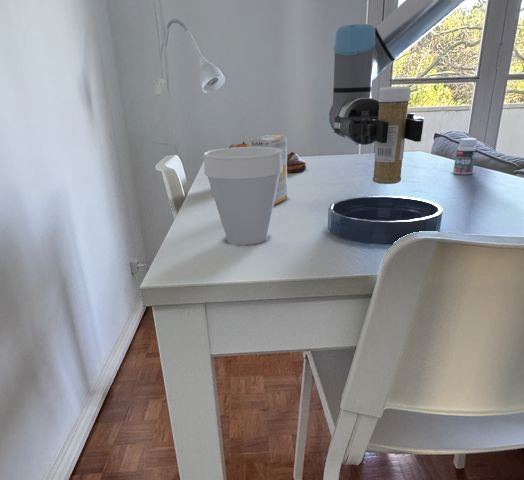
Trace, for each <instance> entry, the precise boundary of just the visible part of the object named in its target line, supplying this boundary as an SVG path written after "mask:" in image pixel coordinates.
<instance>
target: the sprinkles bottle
mask: <svg viewBox="0 0 524 480" xmlns="http://www.w3.org/2000/svg"><path fill="white" fill-rule="evenodd" d="M411 92H412V88H411V87H410V86H385V87H381V88H379V89H378V100H377V101H379V114H378V120H381V121H385V122H389V124H388V135H387V143H380V142H377V141H375V146H374V148H375V149H374V164H373V165H374V167H373V176H372V181H373V183H376V184H380V185H392V184H393V185H394V184H395V185H396V184H399V183H400V182H401V181H402V167H403V159H404V152H405V142H406V141H405V140H406V139H405V128H406V119H407V114H408V109H409V104H410V101H411Z"/></svg>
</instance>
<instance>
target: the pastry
mask: <svg viewBox="0 0 524 480" xmlns="http://www.w3.org/2000/svg"><path fill="white" fill-rule="evenodd" d="M306 169H307V162H306V161H305V160H304V159H301V158H300V156H299V155H298V154H297V153H296V152H295V151H291V152H290V153H287V173H300V172H304V171H306Z"/></svg>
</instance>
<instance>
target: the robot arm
mask: <svg viewBox="0 0 524 480" xmlns="http://www.w3.org/2000/svg"><path fill="white" fill-rule="evenodd" d="M467 1H468V0H405V1H403V2H402V3H401V4H400V5H399V6H397V8H396V9H394V10H393V11H392V12H391V13H390V14H389V15H388V16H386V17H385V18H384V19H383V20H382V21H381V22H380V23H379V24H378V25H376V26H374V25H373V24H370V23H357V24H355V23H354V24H345V25H340V26H339V27H337V29H336V31H335V40H334V41H335V42H334V45H333V50H334V59H333V60H334V61H333V63H334V64H333V89H332V90H333V91H332V105H331V106H330V109H329V113H328V122H329V125H330V127H331V128H332V130H333V133H334V134H336V135H338V136H339V137H342V138H346V139H347V140H351V141H352V142H353V143H354V144H355V145H364V146H367V145H371V144H373V143H376V141H377V142H380V143H387V135H388V124H389V122H385V121H381V120H378V114H379V101H378V100H377V99H375V98H372V84H373V81H374V80H376V79H377V78H378V77H379V76H380V75H381V74H382V72H383V71H384V70H385V69H387V68H388V67H389V66H390V65H391V64H393V62H394V61H396V60H397V59H399V57H401V56H402V55H403V54H404V53H405V52H406V51H408V50H409V49H411V47H413V46H414V45H415V44H416V43H418V42H419V41H420V40H421V39H422V38H423V37H425V36H426V35H427V34H429V32H431V31H432V30H433V29H434V28H436V27H437V26H438V25H439V24H441V23H442V22H443V21H444V20H445V19H446V18H447V17H449V16H450V15H451V14H453V12H455V11H456V10H457V9H459V8H460V7H461V6H462V5H463V4H464V3H466V2H467ZM424 122H425V118H424V117H423V116H416V113H415V112H410V113H407V119H406V128H405V140H409V141H412V142H415V143H418V142H419V143H420V142H422V136H423V130H424Z"/></svg>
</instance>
